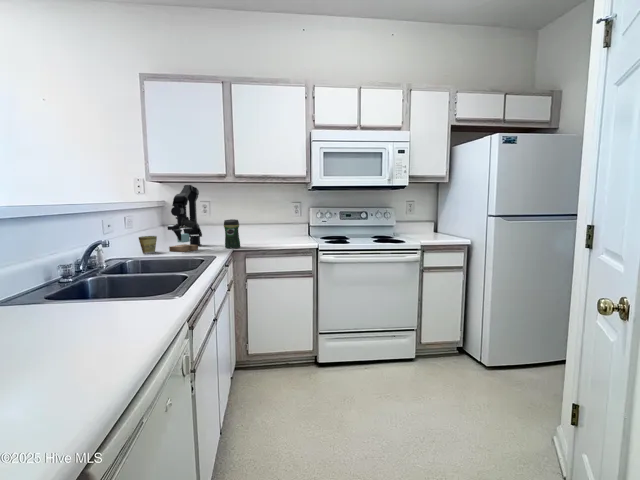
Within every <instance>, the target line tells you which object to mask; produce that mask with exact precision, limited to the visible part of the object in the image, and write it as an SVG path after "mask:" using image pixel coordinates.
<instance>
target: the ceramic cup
mask: <svg viewBox="0 0 640 480" xmlns="http://www.w3.org/2000/svg"><path fill="white" fill-rule="evenodd" d="M157 237H158V236H157V235H142V236H138V241H139V244H140V249H141V252H142V254H153V253H156V249H157V239H158V238H157Z"/></svg>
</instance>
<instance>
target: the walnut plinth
mask: <svg viewBox="0 0 640 480" xmlns="http://www.w3.org/2000/svg"><path fill="white" fill-rule="evenodd" d="M168 249H169V250H168V251H169V252H173V253H175V252H176V253H187V252H192V251H197V250H199V246H198V245H190V244H186V243H183V244H178V245H172V246H171V245H170V246H169V247H168Z"/></svg>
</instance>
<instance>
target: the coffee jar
mask: <svg viewBox="0 0 640 480" xmlns="http://www.w3.org/2000/svg"><path fill="white" fill-rule="evenodd" d="M223 228H224V248H225V249H237V248H240V247H241V241H240V234H239V233H240V232H239V228H240V222H239V220H238V219H233V218H232V219H224V221H223Z"/></svg>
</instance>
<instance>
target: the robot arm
mask: <svg viewBox="0 0 640 480" xmlns="http://www.w3.org/2000/svg"><path fill="white" fill-rule="evenodd" d="M199 195H200V191H199V189H198V188H197V187H195V186H193V185H192V184H184V185H183V188H182V190H181V191H180V192H179V193H177V194H175V195H174V197H173V199H172V200H173V201H172V203H171V204H172V205H171V206H172V208H171V210H170V213H171V214H172V216H175V220H176V222H177V223H176V224H169V225H167V230H168V231H172V232H173V233H174V235H175V236H176V238H178V239H179V241H181V234H182V231H183V234H189V239H190V242H189V245H198V247H199V246H202V245H203V244H202V243H201V237H203V233H202V230H201V227H200V225H199V223H198V218H197V214H198V213H197V200H199V199H198V198H199ZM187 205H188V209H189V211H188V213H189V214H188V215H189V216H188V215H187ZM182 229H183V230H182Z"/></svg>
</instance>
